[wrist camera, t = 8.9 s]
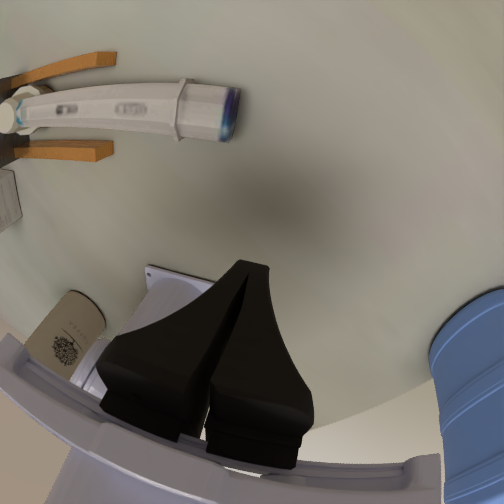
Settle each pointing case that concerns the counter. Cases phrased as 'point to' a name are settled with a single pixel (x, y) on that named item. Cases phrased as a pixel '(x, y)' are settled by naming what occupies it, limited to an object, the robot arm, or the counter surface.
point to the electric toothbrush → (127, 109)
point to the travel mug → (66, 334)
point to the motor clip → (18, 146)
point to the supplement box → (8, 200)
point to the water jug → (472, 400)
